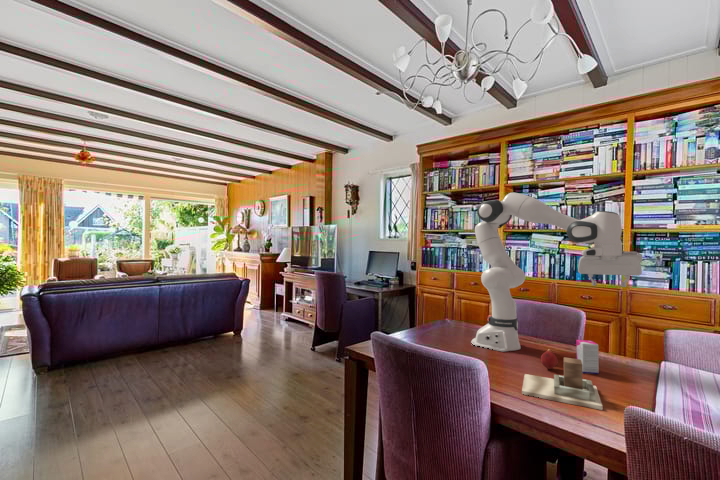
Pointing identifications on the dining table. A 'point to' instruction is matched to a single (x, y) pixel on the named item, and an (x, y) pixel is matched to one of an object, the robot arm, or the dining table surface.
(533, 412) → the dining table surface
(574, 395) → the socket stand
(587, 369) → the supplement box
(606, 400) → the dining table surface
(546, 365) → the onion
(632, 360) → the dining table surface
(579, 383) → the walnut peg
